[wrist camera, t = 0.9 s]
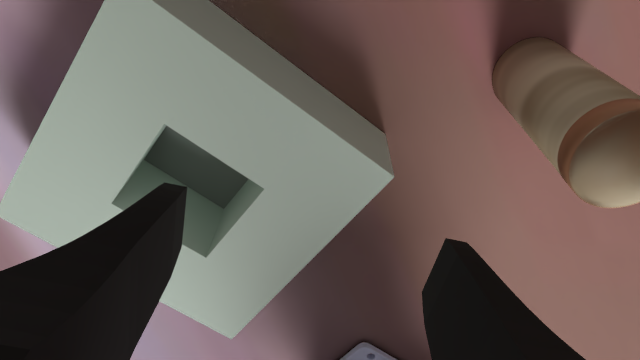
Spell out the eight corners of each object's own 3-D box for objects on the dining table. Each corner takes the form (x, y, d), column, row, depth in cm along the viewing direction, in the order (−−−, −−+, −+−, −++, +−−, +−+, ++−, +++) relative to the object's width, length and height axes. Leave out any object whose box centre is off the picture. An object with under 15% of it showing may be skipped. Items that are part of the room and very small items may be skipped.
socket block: (385, 134, 22) (394, 176, 19) (244, 283, 27) (231, 339, 24) (157, -39, 19) (117, -26, 15) (43, 168, 24) (-6, 214, 20)
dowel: (584, 68, 21) (710, 153, 14) (525, 123, 22) (612, 225, 15) (534, 20, 20) (643, 85, 13) (475, 80, 21) (545, 169, 14)
